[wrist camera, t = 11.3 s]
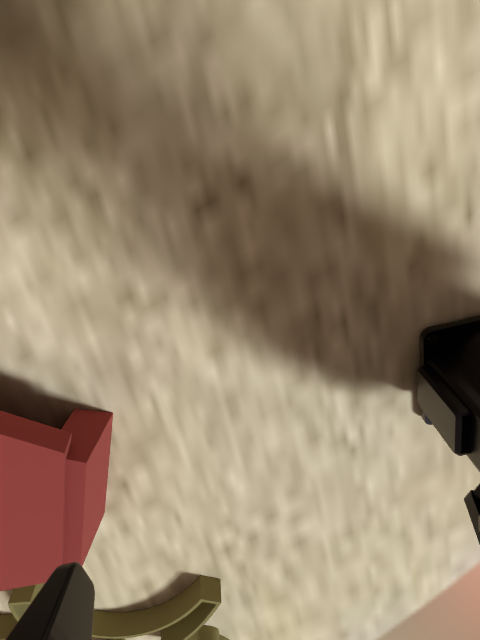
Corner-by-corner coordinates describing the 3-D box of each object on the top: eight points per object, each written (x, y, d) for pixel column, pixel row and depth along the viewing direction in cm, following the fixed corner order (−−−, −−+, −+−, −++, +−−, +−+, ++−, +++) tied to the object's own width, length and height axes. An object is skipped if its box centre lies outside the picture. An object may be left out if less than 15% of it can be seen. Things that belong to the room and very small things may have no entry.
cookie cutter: (245, 571, 31) (248, 599, 29) (224, 656, 36) (225, 684, 35) (-14, 569, 29) (-28, 599, 27) (3, 661, 34) (-7, 692, 32)
